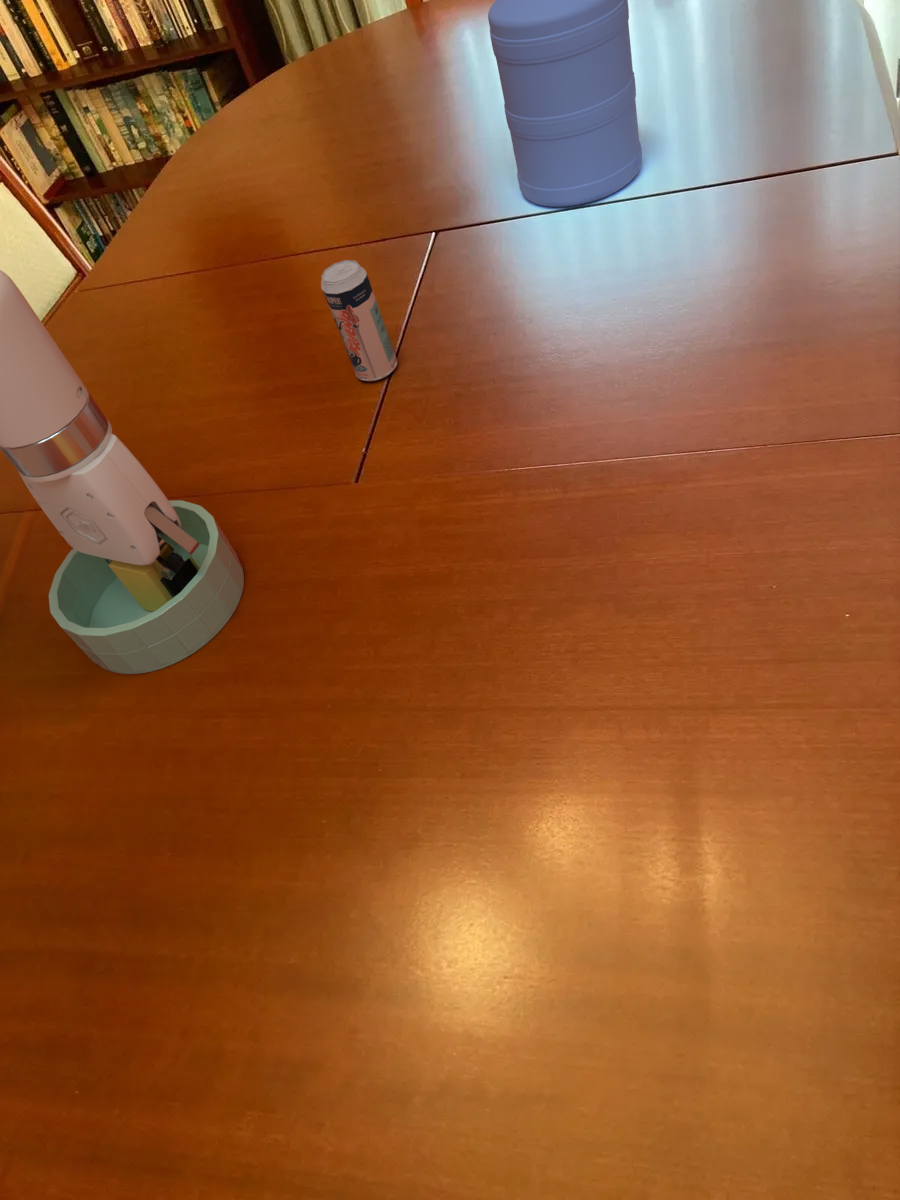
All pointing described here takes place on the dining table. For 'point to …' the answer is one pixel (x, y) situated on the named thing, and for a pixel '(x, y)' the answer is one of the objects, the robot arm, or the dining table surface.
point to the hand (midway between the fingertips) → (171, 590)
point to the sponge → (145, 581)
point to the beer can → (358, 320)
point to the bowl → (140, 637)
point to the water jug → (568, 96)
